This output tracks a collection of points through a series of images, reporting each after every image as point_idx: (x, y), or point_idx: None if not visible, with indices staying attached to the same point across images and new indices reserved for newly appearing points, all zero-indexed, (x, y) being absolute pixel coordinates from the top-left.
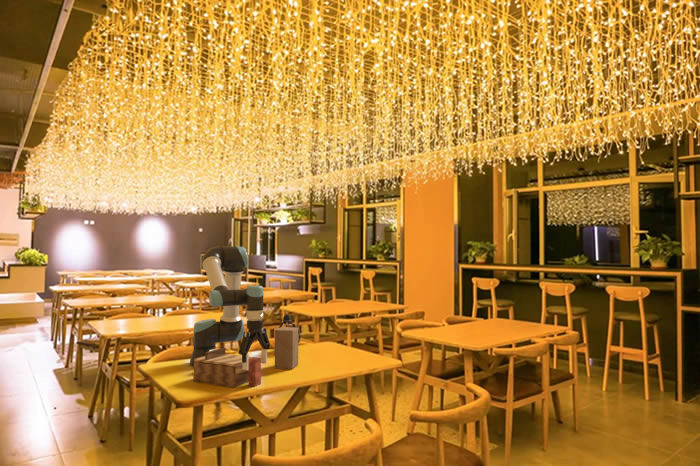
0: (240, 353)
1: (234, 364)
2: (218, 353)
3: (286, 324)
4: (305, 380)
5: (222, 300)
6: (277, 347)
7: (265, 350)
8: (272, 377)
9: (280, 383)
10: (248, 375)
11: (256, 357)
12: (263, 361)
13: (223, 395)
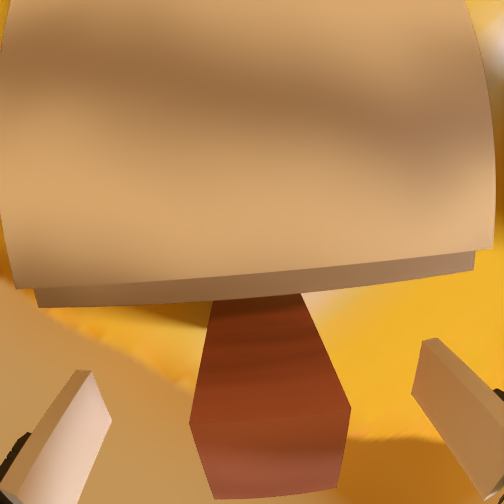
0: None
1: (15, 275)
2: None
3: None
4: (429, 436)
5: None
6: None
7: (481, 488)
8: (448, 278)
9: (354, 401)
10: (213, 302)
11: (330, 450)
12: (426, 379)
13: (9, 283)
